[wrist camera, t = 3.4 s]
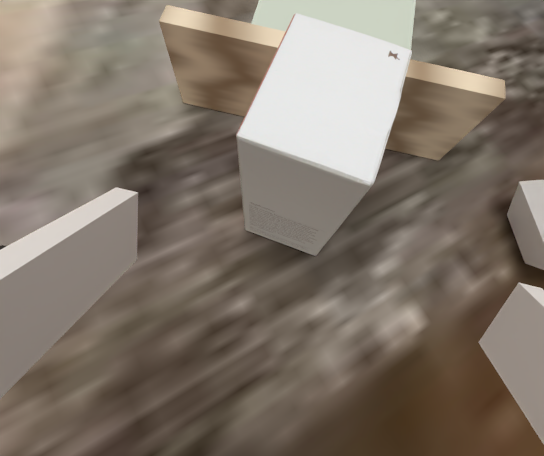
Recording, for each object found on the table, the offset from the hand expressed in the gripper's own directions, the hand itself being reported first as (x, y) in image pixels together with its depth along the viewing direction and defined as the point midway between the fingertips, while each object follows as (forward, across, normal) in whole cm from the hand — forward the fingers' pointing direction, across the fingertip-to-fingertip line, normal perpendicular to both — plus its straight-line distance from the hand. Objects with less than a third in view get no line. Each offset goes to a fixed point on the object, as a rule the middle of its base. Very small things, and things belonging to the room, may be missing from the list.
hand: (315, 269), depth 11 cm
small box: (+16, -1, -4) cm, 16 cm away
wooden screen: (+21, -1, +2) cm, 21 cm away
